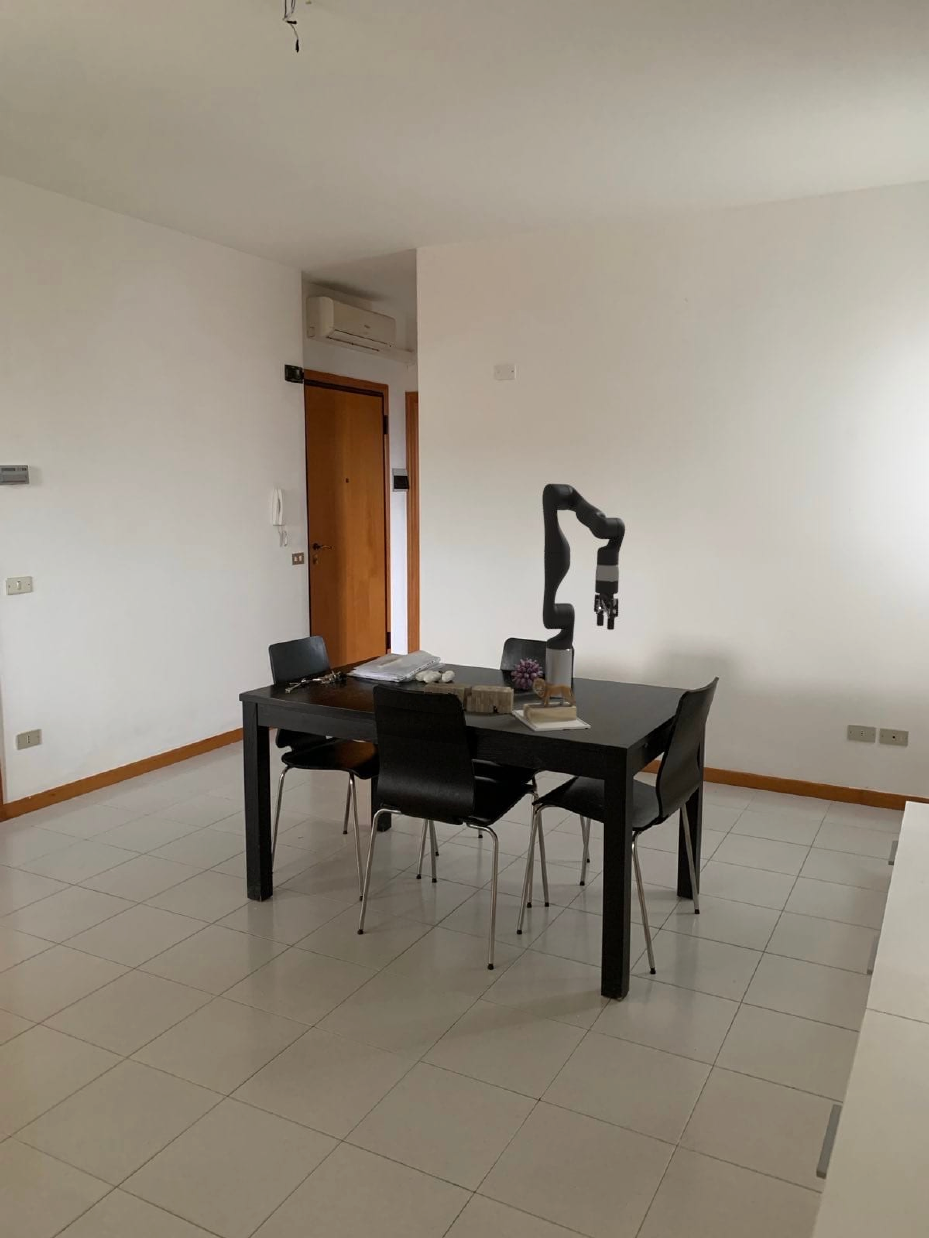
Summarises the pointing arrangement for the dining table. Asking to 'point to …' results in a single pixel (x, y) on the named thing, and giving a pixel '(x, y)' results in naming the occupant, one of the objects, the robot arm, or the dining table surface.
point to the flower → (526, 673)
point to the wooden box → (549, 712)
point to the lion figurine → (552, 691)
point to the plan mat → (551, 723)
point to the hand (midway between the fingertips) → (605, 627)
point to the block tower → (477, 696)
